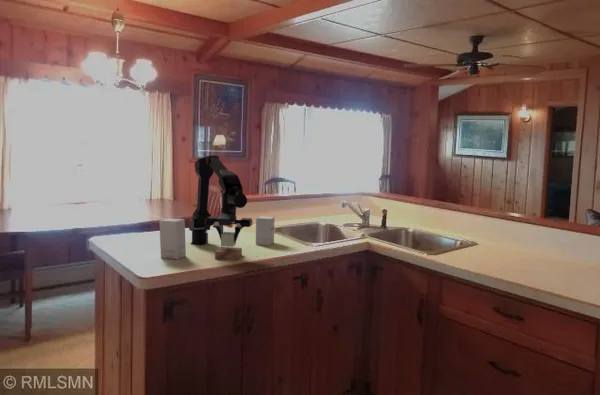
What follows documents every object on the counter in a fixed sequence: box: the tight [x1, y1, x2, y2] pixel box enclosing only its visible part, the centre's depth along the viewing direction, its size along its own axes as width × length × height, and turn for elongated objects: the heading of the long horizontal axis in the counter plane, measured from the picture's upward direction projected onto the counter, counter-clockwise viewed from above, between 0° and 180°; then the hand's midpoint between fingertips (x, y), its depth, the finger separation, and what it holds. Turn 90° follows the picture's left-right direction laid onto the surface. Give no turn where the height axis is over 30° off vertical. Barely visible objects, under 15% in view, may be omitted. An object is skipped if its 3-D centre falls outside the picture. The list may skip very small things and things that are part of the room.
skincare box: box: [159, 217, 187, 260], centre depth 188 cm, size 8×7×16 cm
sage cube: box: [220, 231, 237, 247], centre depth 191 cm, size 5×5×5 cm
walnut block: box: [214, 246, 243, 261], centre depth 192 cm, size 9×9×4 cm
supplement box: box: [255, 215, 275, 246], centre depth 219 cm, size 7×7×13 cm
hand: (228, 242), depth 191 cm, fingers closed on sage cube, 5 cm apart
